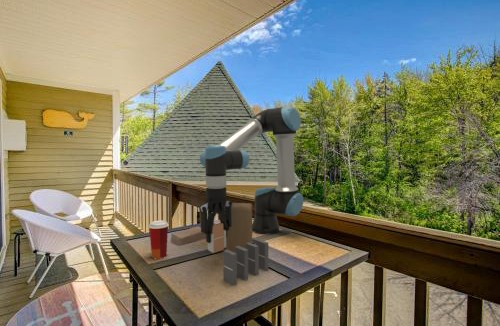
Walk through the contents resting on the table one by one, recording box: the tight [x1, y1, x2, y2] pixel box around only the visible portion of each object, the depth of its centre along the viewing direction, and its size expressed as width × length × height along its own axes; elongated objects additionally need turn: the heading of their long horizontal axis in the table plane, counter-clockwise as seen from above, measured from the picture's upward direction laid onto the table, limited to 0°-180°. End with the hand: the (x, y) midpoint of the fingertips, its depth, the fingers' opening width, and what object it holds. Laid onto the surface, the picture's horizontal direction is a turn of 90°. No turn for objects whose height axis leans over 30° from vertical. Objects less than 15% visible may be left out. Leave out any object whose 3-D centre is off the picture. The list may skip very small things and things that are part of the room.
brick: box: [170, 226, 206, 247], centre depth 127 cm, size 17×8×5 cm, turn 138°
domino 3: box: [246, 242, 260, 276], centre depth 92 cm, size 2×5×10 cm, turn 43°
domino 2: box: [235, 246, 249, 281], centre depth 89 cm, size 2×5×10 cm, turn 44°
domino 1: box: [222, 249, 238, 286], centre depth 85 cm, size 2×5×10 cm, turn 43°
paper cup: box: [148, 219, 170, 260], centre depth 106 cm, size 8×8×14 cm
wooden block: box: [226, 202, 253, 253], centre depth 112 cm, size 10×10×20 cm
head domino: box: [209, 222, 225, 254], centre depth 97 cm, size 2×5×10 cm, turn 133°
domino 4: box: [255, 238, 269, 272], centre depth 96 cm, size 2×5×10 cm, turn 43°
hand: (217, 248), depth 98 cm, fingers closed on head domino, 5 cm apart
